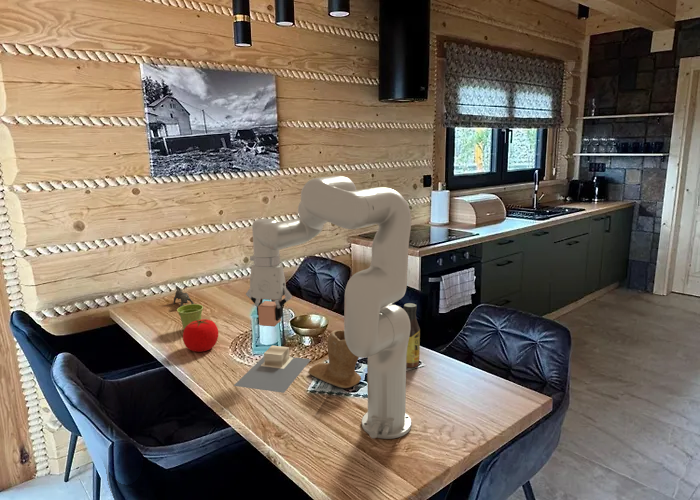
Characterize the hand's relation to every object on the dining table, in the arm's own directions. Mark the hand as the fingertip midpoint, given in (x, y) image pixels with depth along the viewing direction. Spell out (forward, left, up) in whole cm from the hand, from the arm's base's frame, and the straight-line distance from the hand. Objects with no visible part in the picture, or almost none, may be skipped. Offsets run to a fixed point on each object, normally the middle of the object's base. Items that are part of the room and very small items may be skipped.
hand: (270, 317), depth 151 cm
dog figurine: (+47, +65, -18) cm, 82 cm away
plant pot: (+23, +44, -18) cm, 53 cm away
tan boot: (0, -22, -18) cm, 28 cm away
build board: (-2, -2, -18) cm, 18 cm away
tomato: (+9, +31, -18) cm, 37 cm away
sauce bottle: (+15, -41, -18) cm, 47 cm away
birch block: (+4, 0, -17) cm, 17 cm away
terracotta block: (0, 0, -2) cm, 2 cm away
